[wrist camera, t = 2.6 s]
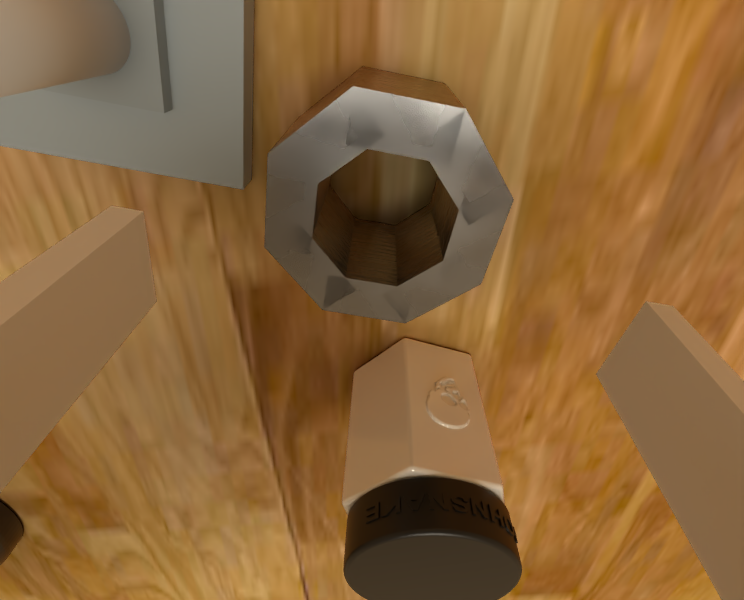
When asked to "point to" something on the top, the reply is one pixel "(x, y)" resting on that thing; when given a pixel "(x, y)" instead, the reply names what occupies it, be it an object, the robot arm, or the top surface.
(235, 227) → the top surface
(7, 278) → the robot arm
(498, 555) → the jar
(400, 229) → the tube
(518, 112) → the top surface
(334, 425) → the top surface
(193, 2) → the shaft stand
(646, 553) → the top surface
